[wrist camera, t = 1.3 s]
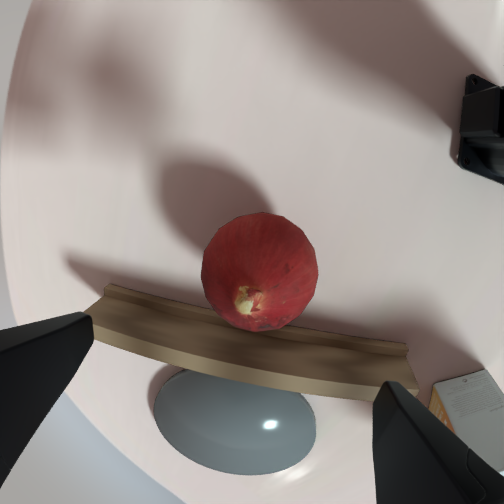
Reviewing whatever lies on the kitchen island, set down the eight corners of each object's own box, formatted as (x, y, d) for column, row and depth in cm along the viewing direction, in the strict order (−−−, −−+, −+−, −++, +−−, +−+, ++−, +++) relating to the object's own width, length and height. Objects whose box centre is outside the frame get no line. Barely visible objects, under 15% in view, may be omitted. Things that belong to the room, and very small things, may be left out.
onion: (320, 287, 20) (330, 363, 12) (232, 300, 21) (197, 375, 13) (305, 195, 18) (311, 222, 11) (211, 213, 19) (156, 250, 12)
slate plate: (337, 382, 22) (338, 391, 21) (293, 476, 26) (292, 483, 25) (156, 344, 23) (151, 351, 22) (160, 447, 27) (157, 453, 26)
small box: (432, 381, 21) (475, 481, 11) (487, 366, 20) (540, 451, 10) (417, 440, 23) (439, 528, 13) (466, 427, 22) (498, 506, 12)
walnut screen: (405, 343, 20) (424, 382, 16) (393, 369, 21) (408, 410, 16) (109, 283, 22) (75, 309, 18) (110, 311, 23) (79, 340, 18)
